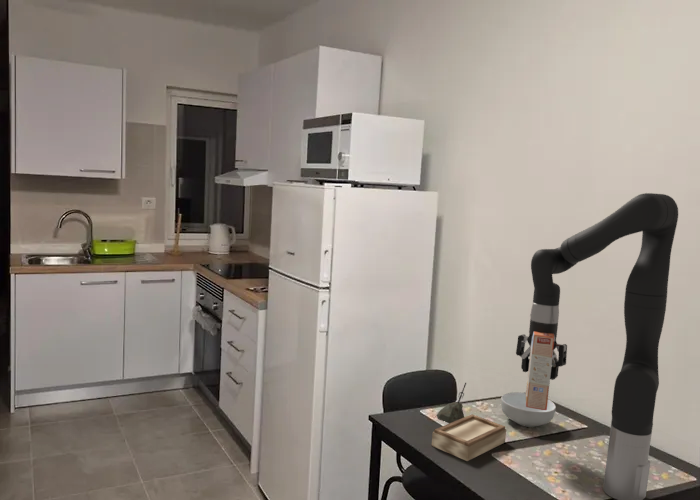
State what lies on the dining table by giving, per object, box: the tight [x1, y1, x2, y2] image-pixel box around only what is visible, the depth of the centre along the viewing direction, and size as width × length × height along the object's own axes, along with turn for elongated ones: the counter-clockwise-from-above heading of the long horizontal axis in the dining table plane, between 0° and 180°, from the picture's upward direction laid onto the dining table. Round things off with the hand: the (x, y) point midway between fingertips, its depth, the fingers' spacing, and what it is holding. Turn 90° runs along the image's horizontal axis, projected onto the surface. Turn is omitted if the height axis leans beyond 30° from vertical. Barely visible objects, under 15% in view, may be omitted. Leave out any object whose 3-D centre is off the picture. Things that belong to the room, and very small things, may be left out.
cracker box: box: [525, 331, 555, 410], centre depth 174 cm, size 14×6×21 cm, turn 164°
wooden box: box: [431, 413, 507, 462], centre depth 177 cm, size 12×20×5 cm, turn 136°
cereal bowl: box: [500, 391, 557, 428], centre depth 197 cm, size 17×17×7 cm
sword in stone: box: [436, 382, 467, 424], centre depth 195 cm, size 10×8×12 cm
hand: (538, 375), depth 174 cm, fingers closed on cracker box, 8 cm apart
